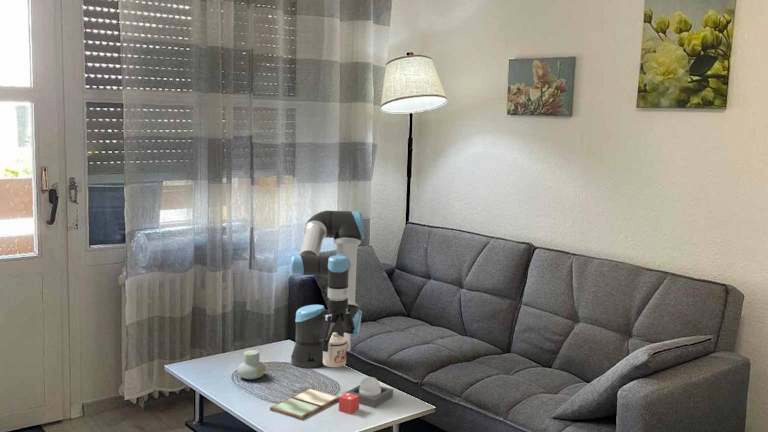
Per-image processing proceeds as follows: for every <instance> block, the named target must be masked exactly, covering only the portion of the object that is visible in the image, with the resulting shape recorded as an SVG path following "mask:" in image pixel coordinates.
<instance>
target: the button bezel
mask: <svg viewBox="0 0 768 432" xmlns="http://www.w3.org/2000/svg"><path fill="white" fill-rule="evenodd" d="M359 387H360V384H358V385H357V386H355V387H354V388H353V387H352V389H350V390H348V391H346V393H351V394H354V395H358V396H359V405H363V406H366V407H369V408H372V409H373V408H374V409H375V408H377V407H378V406H381V405H382V404H384V403H386V402H388V401H389V400H391V399H392V398H393V397H394V389H393V388H390V387H385V386H381V385H380V387H381V394H379V395H377V396H375V397H374V398H373V397H370V396H366V395H362V394H359ZM346 393H345V394H346Z"/></svg>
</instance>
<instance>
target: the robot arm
mask: <svg viewBox="0 0 768 432" xmlns="http://www.w3.org/2000/svg"><path fill="white" fill-rule="evenodd" d="M363 219H364V217H363V214H362V212H360V211H353V210H322V211H320V212H317V213H315V214H314V215H313V216H311V217H310V218H309V219H308V220H307V221H306V223H305V225H304V227H303V234H304V237H303V240H302V244H301V248H300V250H299V251H300V252H299V254H296V255H295V254H294V255H292V257H291V259H290V260H291V261H290V271H291V273H292V274H293V275H294V276H323V277H327V309H326V308H325V306H324V305H322V304H310V305H309V304H308V305H304V306H301V307H300V308H298V309H297V310H296V312H295V320H294V321H295V343H294V348H293V350H292V354H291V356H290V363H291V364H292V365H293V366H295V367H298V368H303V369H305V368H306V369H307V368H309V369H310V368H311V369H313V368H314V369H315V368H321V367H323V366H325V365H324V364H323V359H325V360H330V343H329V341H330V338H331V336H332V333H337V334H338V335H339V336H341V337H344V338H346V340H347V344H348V346H347V350H346V352H347V351H348V352H351V343H352V342H351V341H352V339H354V340H355V339H357V337H358V336H359V333H360V327H361V323H362V313H363V311H362V310H360V309H359V305H358V304H357V302H356V289H357V288H356V284H357V265H358V264H357V263H358V261H357V258H358V257H357V256H358V246H359V245H360V244H361V243H362V240H364V239H365V230H364V220H363ZM325 238H326V239H333V244H335V245H336V254H335V255H321V254H320V253H321V249H322V245H323V240H324V239H325Z"/></svg>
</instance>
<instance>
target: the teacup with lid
mask: <svg viewBox="0 0 768 432" xmlns="http://www.w3.org/2000/svg"><path fill="white" fill-rule="evenodd" d="M329 343H330V360H325V359H323V364H324V365H323V366H325V367H329V368H341V367H343V366H345V365H346V364H347V346H348V344H347V340H346V338H344V337H341V336H339V335H338V334H337V333H332V336H331V338H330V341H329Z"/></svg>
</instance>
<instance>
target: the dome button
mask: <svg viewBox="0 0 768 432" xmlns="http://www.w3.org/2000/svg"><path fill="white" fill-rule="evenodd" d="M359 385H360V387H359V394H362V395H366V396H370V397H373V398H374V397H375V396H377V395H379V394H381V387H380V386H381V384H380V382H379V380H378V379H377V378H376V377H373V376H367V377H365V378H363V379H362V381H360V384H359Z"/></svg>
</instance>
